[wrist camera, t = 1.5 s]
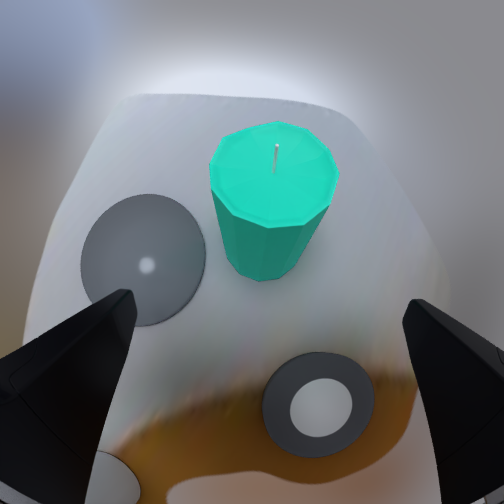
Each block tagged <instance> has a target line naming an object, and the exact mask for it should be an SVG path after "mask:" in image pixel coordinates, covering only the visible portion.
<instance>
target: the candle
mask: <svg viewBox="0 0 504 504" xmlns="http://www.w3.org/2000/svg"><path fill="white" fill-rule="evenodd" d="M209 168H210V183H211V191H212V195H213V200H214V204H215V209H216V213H217V217H218V222H219V226H220V230H221V234H222V238H223V243H224V247H225V251H226V255H227V259H228V260H229V261H230V263H231V264H232V265H233V266H234V268H235V269H236V270H237V271H238V273H239V274H241V275H244V276H246V277H249V278H251V279H254V280H256V281H265V280H272V279H279V278H280V277H281V276H283V275H284V274H285V273H286V272H288V271H289V270H290V269H291V268H293V267H294V266H295V264H296V262H297V261H298V259H299V257H300V256H301V254H302V252H303V250H304V249H305V247H306V245H307V244H308V242H309V240H310V239H311V237H312V235H313V233H314V232H315V230H316V228H317V226H318V225H319V223H320V221H321V219H322V218H323V216H324V214H325V212H326V211H327V209H328V207H329V205H330V203H331V200H332V197H333V194H334V191H335V188H336V184H337V181H338V178H339V171H338V169H337V166H336V164H335V162H334V159H333V157H332V155H331V152H330V150H329V149H328V148H327V147H326V146H325V145H324V144H323V143H322V142H321V141H320V140H319V139H318V138H316V137H315V136H314V135H313V134H312V133H311V132H310V131H309V130H308V129H305V128H301V127H298V126H294V125H291V124H287V123H284V122H280V121H276V122H272V123H267V124H263V125H258V126H254V127H250V128H246V129H244V130H241V131H238V132H236V133H233V134H231V135H228V136H225V137H223V138H222V140H221V142H220V144H219V146H218V148H217V150H216V152H215V154H214V156H213V158H212V160H211V162H210V164H209Z"/></svg>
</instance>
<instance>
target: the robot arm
mask: <svg viewBox="0 0 504 504" xmlns="http://www.w3.org/2000/svg"><path fill="white" fill-rule="evenodd" d="M137 315H138V311H137V306H136V302H135V298H134V294H133V291H132V290H130V289H122V288H120V289H118V290H116V291H114V292H113V293H111V294H109V295H107V296H106V297H104V298H102V299H100V300H99V301H97V302H95V303H94V304H92V305H90V306H88V307H87V308H85V309H83V310H82V311H80V312H78V313H77V314H75V315H73V316H72V317H70V318H68V319H67V320H65V321H63V322H62V323H60V324H58V325H57V326H55V327H53V328H52V329H50V330H48V331H47V332H45V333H43V334H42V335H40V336H39V337H38V338H35V339H34V340H32V341H30V342H29V343H27V344H26V345H24V346H22V347H21V348H19V349H17V350H16V351H14V352H12V353H10V354H8V355H6V356H5V357H3V358H1V359H0V504H85V499H86V494H87V490H88V485H89V481H90V477H91V472H92V467H93V464H94V460H95V456H96V452H97V448H98V445H99V441H100V438H101V434H102V431H103V427H104V424H105V421H106V417H107V414H108V411H109V408H110V405H111V402H112V398H113V395H114V392H115V389H116V386H117V384H118V381H119V378H120V375H121V372H122V369H123V366H124V364H125V361H126V358H127V355H128V351H129V347H130V343H131V339H132V335H133V331H134V327H135V324H136V320H137ZM402 325H403V329H404V333H405V337H406V342H407V346H408V350H409V355H410V359H411V363H412V367H413V370H414V373H415V376H416V380H417V383H418V386H419V390H420V393H421V397H422V401H423V404H424V408H425V412H426V416H427V420H428V424H429V428H430V433H431V438H432V443H433V447H434V453H435V458H436V464H437V470H438V477H439V485H440V493H441V502H442V504H471V503H473V502H475V501H477V500H479V499H481V498H483V497H484V500H485V503H483V504H504V351H502V350H501V349H499V348H498V347H496V346H495V345H493V344H492V343H490V342H489V341H487V340H486V339H485V338H483V337H482V336H480V335H478V334H477V333H475V332H474V331H472V330H471V329H469V328H468V327H466V326H464V325H463V324H462V323H460V322H458V321H457V320H455V319H454V318H452V317H450V316H449V315H447V314H446V313H444V312H443V311H441V310H439V309H438V308H436V307H434V306H433V305H431V304H430V303H428V302H426V301H425V300H423V299H412V300H411V301H410V302H409V304H408V307H407V309H406V312H405V314H404V317H403V320H402Z"/></svg>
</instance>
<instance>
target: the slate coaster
mask: <svg viewBox="0 0 504 504" xmlns="http://www.w3.org/2000/svg"><path fill="white" fill-rule="evenodd" d="M204 266H205V245H204V241H203V237H202V234H201V231H200V229H199V227H198V224H197V222H196V221H195V219H194V217H193V216H192V215H191V214H190V212H189V211H188V210H187V209H186V208H185V207H184V206H182V205H181V204H180V203H178V202H177V201H175V200H173V199H171V198H168V197H165V196H161V195H156V194H143V195H137V196H132V197H129V198H126V199H124V200H122V201H120V202H118V203H116V204H115V205H113V206H112V207H110V208H109V209H108V210H107V211H105V212H104V213H103V214H102V215H101V216H100V217H99V219H98V220H97V221H96V222H95V224H94V225H93V227H92V228H91V230H90V232H89V234H88V236H87V238H86V241H85V243H84V246H83V250H82V255H81V277H82V282H83V286H84V289H85V291H86V294H87V296H88V297H89V299H90V301H91V302H92V304H94V303H95V302H97V301H99V300H100V299H102V298H104V297H106V296H107V295H109V294H111V293H113V292H114V291H116V290H118V289H120V288H122V289H130V290H132V291H133V294H134V298H135V302H136V306H137V311H138V315H137V320H136V324H135V326H149V325H153V324H157V323H160V322H162V321H165V320H167V319H168V318H170V317H172V316H173V315H175V314H176V313H177V312H179V311H180V310H181V309H182V308H183V307H184V306H185V305H186V304H187V303H188V302H189V300H190V299H191V298H192V296H193V295H194V293H195V291H196V290H197V288H198V286H199V283H200V281H201V278H202V275H203V271H204Z"/></svg>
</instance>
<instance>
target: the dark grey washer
mask: <svg viewBox="0 0 504 504" xmlns="http://www.w3.org/2000/svg"><path fill="white" fill-rule="evenodd" d="M373 407H374V390H373V386H372V383H371V380H370V378H369V376H368V375H367V373H366V372H365V370H364V369H363V368H362V367H361V366H360V365H359V364H358V363H356V362H355V361H353V360H352V359H350V358H348V357H346V356H342V355H339V354H333V353H326V352H312V353H307V354H303V355H300V356H297V357H295V358H293V359H291V360H289V361H288V362H286V363H285V364H283V365H282V366H281V367H280V368H279V369H278V370H277V371H276V372H275V373H274V374H273V375H272V377H271V378H270V380H269V381H268V383H267V385H266V388H265V390H264V394H263V398H262V413H263V418H264V423H265V426H266V429H267V431H268V433H269V435H270V437H271V438H272V440H273V441H274V442H275V443H276V444H277V445H278V446H279V447H280V448H282V449H283V450H285V451H287V452H289V453H291V454H293V455H296V456H300V457H307V458H318V457H324V456H328V455H332V454H334V453H337V452H339V451H341V450H343V449H345V448H346V447H347V446H349V445H350V444H352V443H353V442H354V441H355V440H356V439H357V438H358V437H359V436H360V435H361V434H362V432H363V431H364V429H365V428H366V426H367V424H368V423H369V420H370V418H371V415H372V412H373Z"/></svg>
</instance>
